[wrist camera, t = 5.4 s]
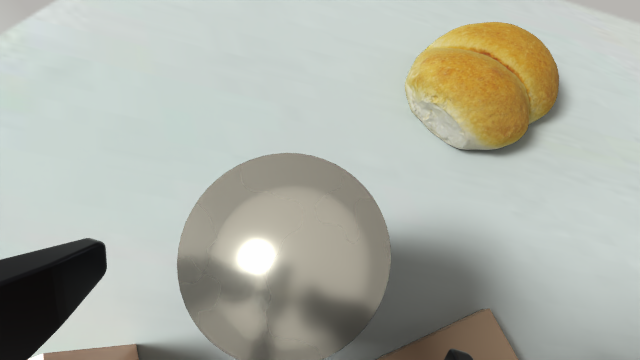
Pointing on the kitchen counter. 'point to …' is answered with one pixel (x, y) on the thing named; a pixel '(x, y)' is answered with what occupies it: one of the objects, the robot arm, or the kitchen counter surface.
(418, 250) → the kitchen counter surface
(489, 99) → the bread roll
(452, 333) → the coaster
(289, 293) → the tea tin
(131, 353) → the planter
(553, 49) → the kitchen counter surface
